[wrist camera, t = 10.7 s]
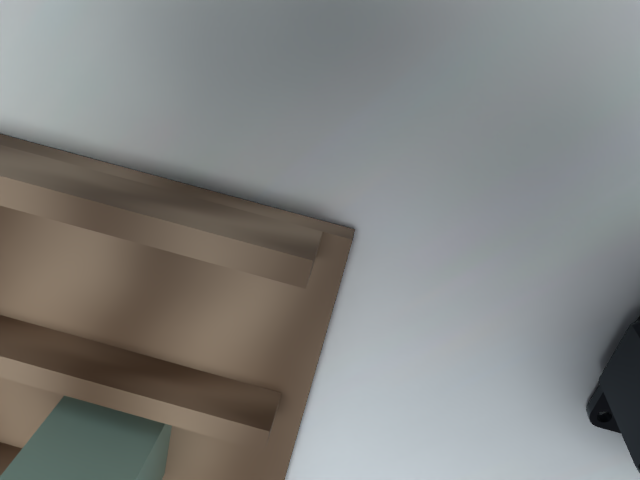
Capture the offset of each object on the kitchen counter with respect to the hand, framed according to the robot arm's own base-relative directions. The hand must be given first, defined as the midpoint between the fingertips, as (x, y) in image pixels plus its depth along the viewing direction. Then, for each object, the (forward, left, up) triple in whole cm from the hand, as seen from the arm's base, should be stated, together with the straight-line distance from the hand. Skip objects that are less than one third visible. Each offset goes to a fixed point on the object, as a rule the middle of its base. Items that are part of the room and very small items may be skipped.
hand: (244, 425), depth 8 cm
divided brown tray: (+6, +10, -12) cm, 17 cm away
